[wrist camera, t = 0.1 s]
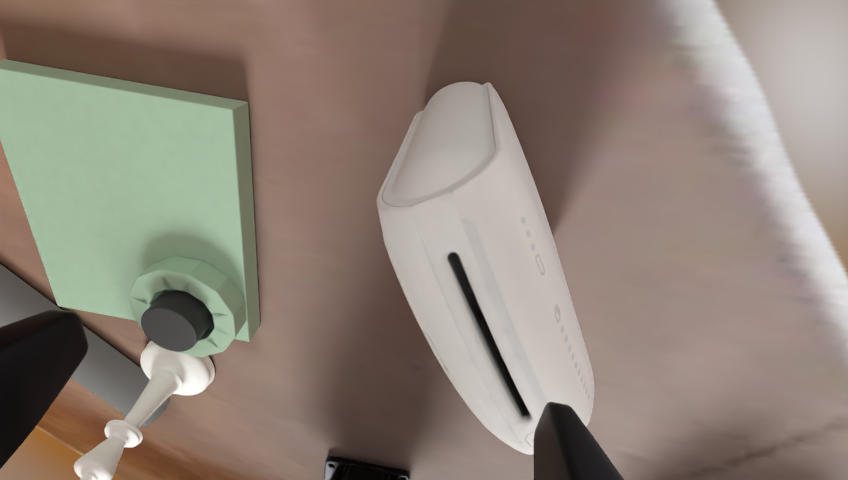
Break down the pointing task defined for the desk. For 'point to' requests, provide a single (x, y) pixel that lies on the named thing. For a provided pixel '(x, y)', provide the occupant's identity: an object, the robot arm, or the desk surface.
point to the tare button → (176, 321)
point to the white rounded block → (483, 264)
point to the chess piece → (146, 406)
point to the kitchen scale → (135, 194)
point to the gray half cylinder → (102, 366)
